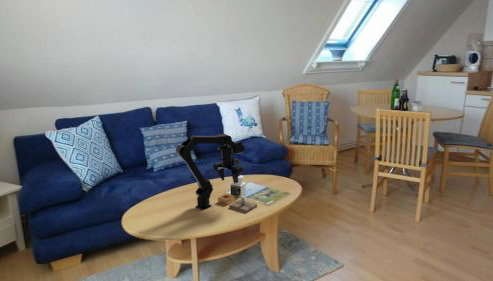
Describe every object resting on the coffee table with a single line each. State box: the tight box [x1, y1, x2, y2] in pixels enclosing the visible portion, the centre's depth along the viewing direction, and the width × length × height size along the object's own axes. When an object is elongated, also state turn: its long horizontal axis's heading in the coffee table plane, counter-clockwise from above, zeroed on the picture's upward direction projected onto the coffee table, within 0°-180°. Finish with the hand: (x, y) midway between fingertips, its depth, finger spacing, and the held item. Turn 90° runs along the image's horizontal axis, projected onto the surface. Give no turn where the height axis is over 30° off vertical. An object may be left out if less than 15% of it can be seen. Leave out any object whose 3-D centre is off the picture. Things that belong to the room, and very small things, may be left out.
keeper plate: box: [228, 196, 258, 214], centre depth 191 cm, size 10×12×6 cm
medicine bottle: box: [230, 174, 247, 198], centre depth 209 cm, size 7×7×12 cm
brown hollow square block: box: [217, 193, 236, 206], centre depth 199 cm, size 7×7×3 cm
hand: (229, 181), depth 198 cm, fingers open, 9 cm apart
